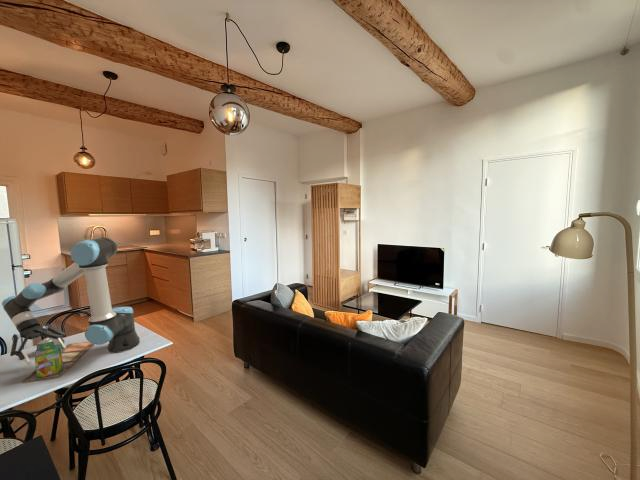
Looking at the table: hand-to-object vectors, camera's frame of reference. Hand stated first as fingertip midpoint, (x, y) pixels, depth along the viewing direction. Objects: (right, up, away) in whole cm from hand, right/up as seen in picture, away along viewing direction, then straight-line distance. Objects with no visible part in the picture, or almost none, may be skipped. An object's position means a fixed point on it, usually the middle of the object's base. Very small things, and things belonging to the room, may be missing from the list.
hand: (47, 356), depth 135 cm
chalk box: (0, -8, +1) cm, 8 cm away
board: (-2, -7, +12) cm, 14 cm away
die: (-18, -6, +19) cm, 27 cm away
